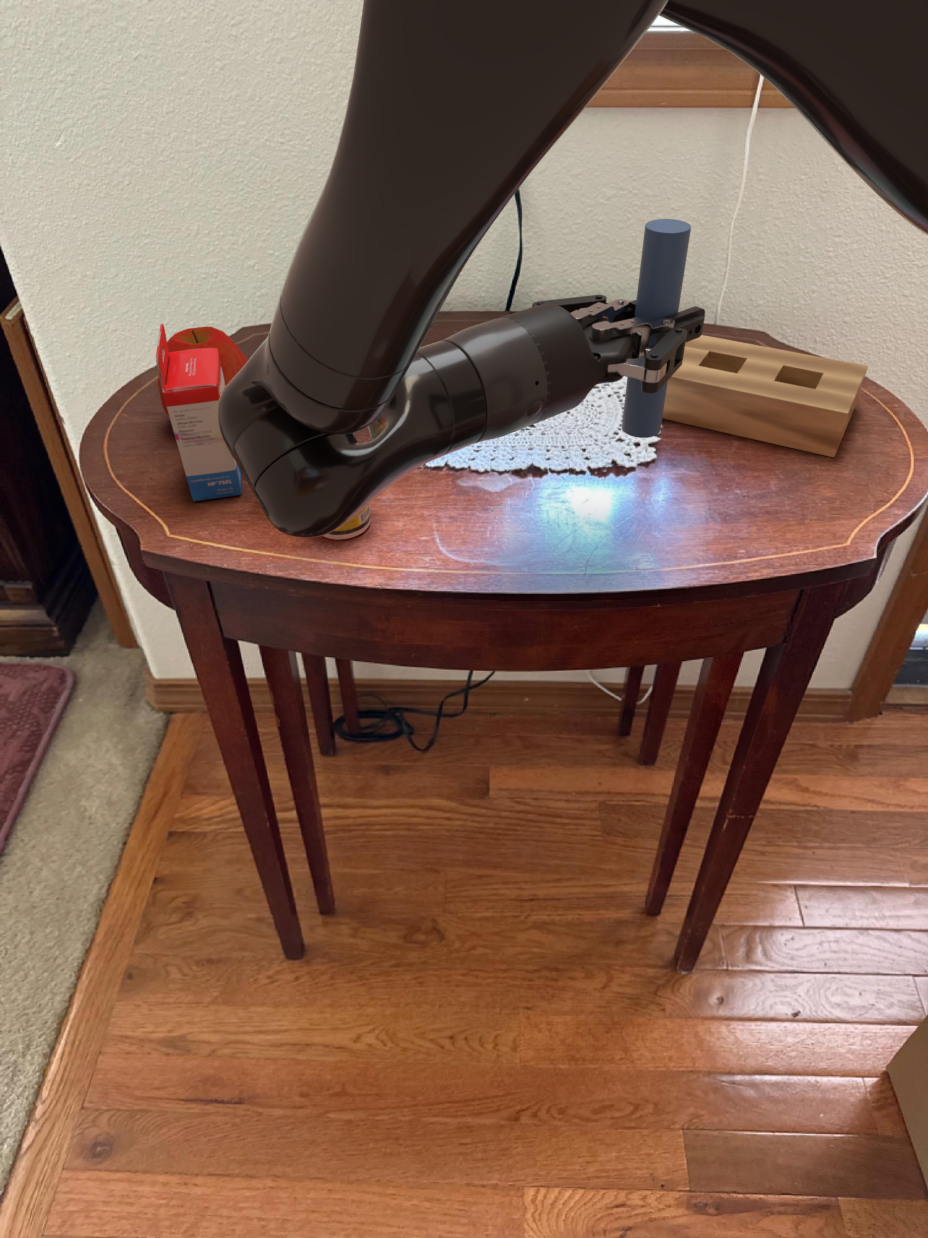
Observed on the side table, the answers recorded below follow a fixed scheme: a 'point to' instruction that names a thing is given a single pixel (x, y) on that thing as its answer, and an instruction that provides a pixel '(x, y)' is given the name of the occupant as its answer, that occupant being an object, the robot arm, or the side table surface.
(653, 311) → the peg
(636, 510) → the side table surface
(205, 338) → the apple
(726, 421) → the rack
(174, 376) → the ink box
